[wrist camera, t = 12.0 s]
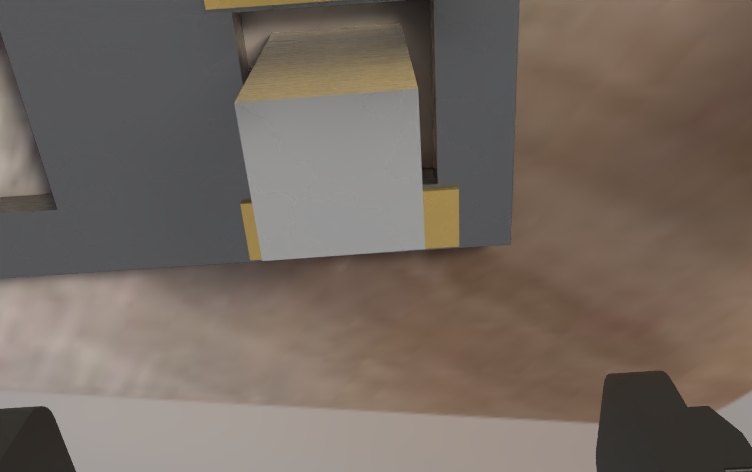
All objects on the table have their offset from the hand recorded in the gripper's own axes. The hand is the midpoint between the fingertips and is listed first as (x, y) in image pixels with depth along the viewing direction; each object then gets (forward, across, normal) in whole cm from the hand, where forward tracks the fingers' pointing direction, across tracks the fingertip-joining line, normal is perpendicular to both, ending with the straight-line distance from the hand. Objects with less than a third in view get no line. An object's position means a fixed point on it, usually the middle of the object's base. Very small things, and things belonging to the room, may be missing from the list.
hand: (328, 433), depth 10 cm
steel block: (+17, 0, 0) cm, 17 cm away
